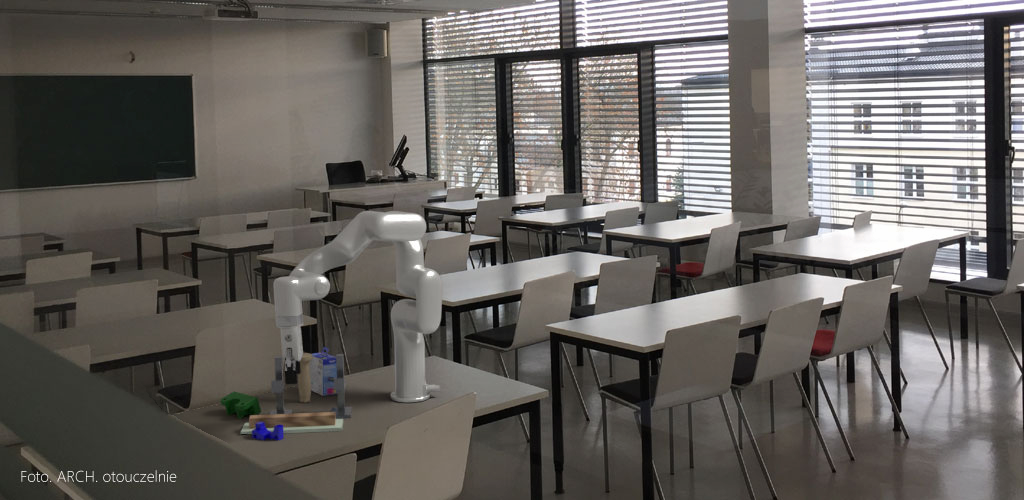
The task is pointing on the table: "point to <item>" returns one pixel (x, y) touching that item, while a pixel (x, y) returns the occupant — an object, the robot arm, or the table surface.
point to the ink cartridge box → (323, 373)
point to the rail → (294, 419)
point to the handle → (305, 378)
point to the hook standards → (339, 385)
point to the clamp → (241, 404)
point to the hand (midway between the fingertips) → (293, 378)
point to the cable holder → (267, 432)
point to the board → (301, 428)
